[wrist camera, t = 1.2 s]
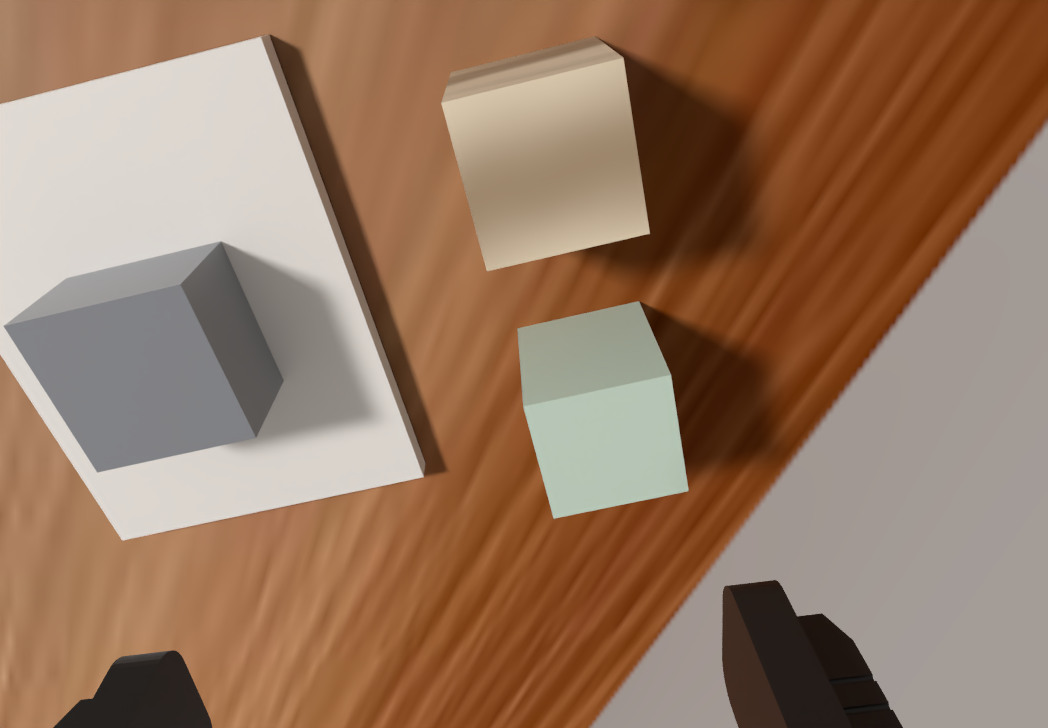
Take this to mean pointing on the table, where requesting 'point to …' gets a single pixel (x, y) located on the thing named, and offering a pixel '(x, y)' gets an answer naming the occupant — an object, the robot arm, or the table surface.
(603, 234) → the birch block
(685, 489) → the sage block
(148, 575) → the table surface
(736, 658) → the robot arm
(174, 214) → the build plate
